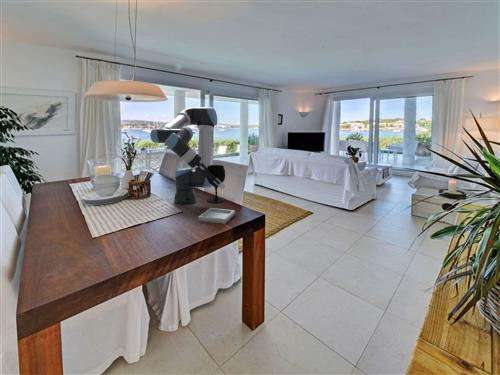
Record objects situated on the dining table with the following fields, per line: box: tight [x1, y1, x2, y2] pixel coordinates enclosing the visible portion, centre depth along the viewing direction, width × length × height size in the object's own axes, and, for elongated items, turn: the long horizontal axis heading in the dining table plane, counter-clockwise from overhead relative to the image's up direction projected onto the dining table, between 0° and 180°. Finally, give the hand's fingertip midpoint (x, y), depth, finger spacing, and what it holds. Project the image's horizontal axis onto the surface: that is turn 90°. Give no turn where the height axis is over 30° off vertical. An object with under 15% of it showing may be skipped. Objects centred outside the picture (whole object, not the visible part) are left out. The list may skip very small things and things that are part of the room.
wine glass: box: [206, 164, 226, 205], centre depth 138 cm, size 10×10×20 cm
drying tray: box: [197, 207, 236, 225], centre depth 143 cm, size 16×16×2 cm
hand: (221, 185), depth 139 cm, fingers closed on wine glass, 10 cm apart
